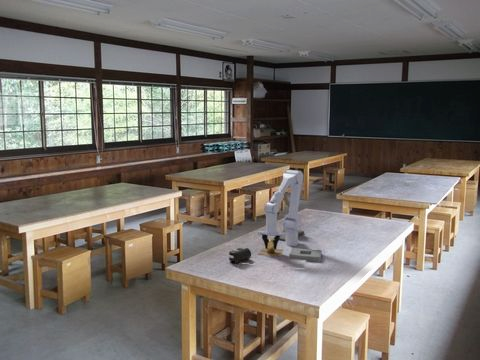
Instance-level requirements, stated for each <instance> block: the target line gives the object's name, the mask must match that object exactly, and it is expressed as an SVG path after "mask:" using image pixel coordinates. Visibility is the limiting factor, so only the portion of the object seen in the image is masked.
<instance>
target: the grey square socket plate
mask: <svg viewBox="0 0 480 360" xmlns="http://www.w3.org/2000/svg"><path fill="white" fill-rule="evenodd" d="M321 257H322V250H321V249H319V250H318V249H308V248H296V247H295V248H294V247H292V248H291V249H290V251H289V255H288V258H289V259H296V260H297V259H298V260H305V261H306V262H315V263H316V262H318V263H320V262H321Z"/></svg>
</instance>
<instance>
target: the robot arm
mask: <svg viewBox="0 0 480 360" xmlns="http://www.w3.org/2000/svg"><path fill="white" fill-rule="evenodd" d="M303 181H304V174H303V172H302V171H301V170H295V169H293V170H292V169H284V171H283V174H282V181H281V183H280V185H279V187H278V190H275V191H274V193H273V195H272V196H271V198H270V200H269V201H268V202H267V203H265V205H264V207H263V211H264V215H265V218H266V219H265V221H266V222H265V223H266V224H265V229H266V230H258V231H257V235H258V236H261V239H262V240H263V244H264V248H265V249H267V239H269V238H268V237H269V236H270V237H275V236H276V237H275V250H276V249H277V247H278V243H279V241H280V240H279V239H280V237H285V233H282V232H283V231H282V232H281V231H277V227H278V226H277V224H278V213H280V207H281V203H282V201H284V200H283V198H284V195H283V194H284V193H286V191H287V189H288V188H289V186H291V191H290V197H289V198H290V199H289V202H290V205H289V207H288V213H287V214H285V215H284V218H283V221H282V227H283V229H284V228H285V230H286V237H285V241H284V243H285V245H286V246H289V247H296V246H298V245H300V242H299V236H298V231H299V230H301V228H302V226H303V225H302V218H301V217H300V215H299V214H298V213H299V205H300V199H301V198H300V197H301V190H302V185H303V183H304V182H303ZM290 218H291V219H290ZM294 219H295V220H294Z"/></svg>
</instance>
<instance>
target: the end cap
mask: <svg viewBox="0 0 480 360" xmlns="http://www.w3.org/2000/svg"><path fill="white" fill-rule="evenodd" d="M228 255H229V257H228V260H229V264H232V265H238V264H241V263H243V262H245V261H248V260H249V259H251V258H252V252H251V250H250V248H248V247H245V248H241V247H239V248H238V247H237V248H236V250H235V249H232V250H230V251H229V252H228ZM230 256H232V257H230Z"/></svg>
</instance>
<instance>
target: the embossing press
mask: <svg viewBox="0 0 480 360" xmlns="http://www.w3.org/2000/svg"><path fill="white" fill-rule="evenodd" d="M283 195H284V198H283V200H282V201H284V203H285V205H286V206H287V207H288V208H289V205H290V199H288V197H287V194H286V192H284V194H283ZM290 219H291V218H290ZM294 220H295V219H294ZM282 233H285V237H286V230H285V228H283V230H282ZM304 234H305V231H304V230H301V229H300V230H299V231H298V237H300V236H302V235H304ZM275 237H276V236H273V238H272V239H275ZM285 237H280V239H279V241H282V242H285Z"/></svg>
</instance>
